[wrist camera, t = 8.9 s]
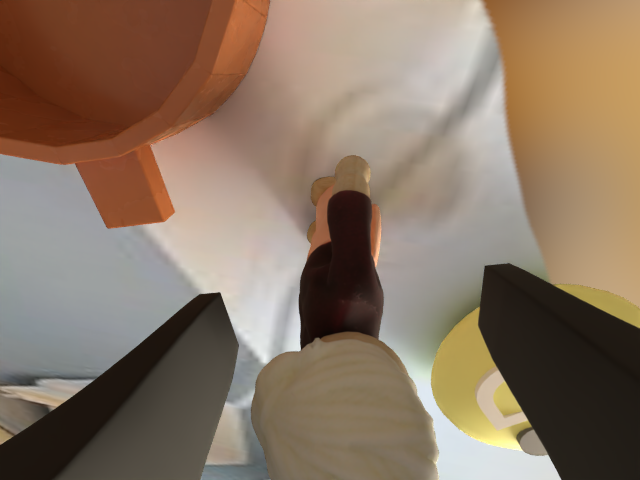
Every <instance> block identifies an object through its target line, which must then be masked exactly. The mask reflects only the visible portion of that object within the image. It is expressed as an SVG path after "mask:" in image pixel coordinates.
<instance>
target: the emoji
mask: <svg viewBox="0 0 640 480" xmlns="http://www.w3.org/2000/svg"><path fill="white" fill-rule="evenodd" d="M554 286H556V287H558V288H560V289H562V290H564V291H565V292H567V293H569V294H571V295H573V296H575V297H577V298H579V299H581V300H583V301H585V302H587V303H589V304H591V305H593V306H595V307H597V308H599V309H601V310H603V311H605V312H607V313H609V314H611V315H613V316H615V317H617V318H619V319H621V320H623V321H625V322H627V323H630V324H632V325H634V326H636V327H638V328H640V309H639V308H638V307H637V306H636V305H634V304H633V303H631V302H629V301H628V300H626V299H624V298H623V297H620V296H618V295H615V294H613V293H610V292H607V291H603V290H599V289H595V288H590V287H585V286H581V285H570V284H554ZM479 310H480V307H478V308H477V309H475V310H474V311H472V312H471V313H469V314H468V315H467V316H466V317H464V318H463V319H462V320H461V321H460V322H459V323H458V324H456V325H455V326H454V328H453V329H452V330H451V331H450V332H449V334H448V335H447V336H446V337H445V339H444V340H443V341H442V343H441V345H440V347H439V349H438V351H437V353H436V356H435V360H434V364H433V368H432V374H431V386H432V392H433V396H434V398H435V401H436V403H437V405H438V407H439V408H440V410H441V411H442V413H443V414H444V415H445V416H446V417H447V418H448V419H449V420H450V421H451V422H452V423H453V424H454V425H455V426H456V427H457V428H458V429H460V430H461V431H463V432H464V433H465V434H467V435H468V436H470V437H472V438H474V439H476V440H479V441H481V442H484V443H487V444H490V445H494V446H499V447H504V448H509V449H515V450H523V451H524V452H525V453H528V454H530V455H536V456H544V455H548V453H547V452H546V450H545V448H544V446H543V445H542V443H541V441H540V439H539V438H538V436H537V434H536V433H535V431H534V429H533V428H532V426H531V424H530V423H529V421H528V419H527V418H526V416H525V414H524V412H523V411H522V409H521V407H520V406H519V404H518V402H517V401H516V399H515V397H514V396H513V394H512V392H511V391H510V389H509V387H508V385H507V384H506V382H505V380H504V379H503V377H502V375H501V373H500V372H499V370H498V368H497V367H496V365H495V363H494V361H493V359H492V357H491V355H490V353H489V350H488V348H487V346H486V344H485V341H484V339H483V336H482V334H481V332H480V329H479V327H478V319H479Z"/></svg>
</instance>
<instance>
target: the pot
mask: <svg viewBox="0 0 640 480" xmlns="http://www.w3.org/2000/svg"><path fill="white" fill-rule="evenodd" d="M269 4H270V0H0V154H3V155H9V156H15V157H21V158H26V159H32V160H38V161H43V162H49V163H55V164H60V165H61V164H63V165H66V164H73V163H75V165H76V167H77V169H78V171H79V173H80V175H81V177H82V179H83V181H84V183H85V185H86V187H87V189H88V191H89V193H90V195H91V197H92V199H93V201H94V203H95V205H96V207H97V209H98V211H99V213H100V215H101V217H102V219H103V221H104V223H105V225H106V227H107V228H108V229H109V228H118V227H126V226H134V225H143V224H151V223H159V222H165V221H166V220H167V219H168V218H169V217H170V216H171V215H173V214H174V213H175V210H174V208H173V205H172V202H171V200H170V197H169V195H168V192H167V189H166V187H165V184H164V181H163V179H162V176H161V173H160V171H159V168H158V165H157V163H156V160H155V157H154V155H153V152H152V150H151V147H150V145H151V144H153V143H156V142H158V141H161V140H163V139H166V138H168V137H171V136H173V135H176V134H178V133H180V132H182V131H183V130H185V129H187V128H189V127H190V126H193V125H194V124H196V123H198V122H199V121H201V120H203V119H204V118H206V117H208V116H210V115H212V114H213V113H214V112H216V111H217V110H218V108H219V107H220V106H221V105H222V104H223V103H224V102H225V101H226V100H227V99H228V98H229V96H230V95H231V94H232V93H233V92H234V91H235V90H236V88H237V87H238V85H239V84H240V82H241V81H242V79H243V78H244V77H245V75H246V73H247V72H248V69H249V67H250V65H251V63H252V61H253V59H254V57H255V55H256V52H257V49H258V46H259V43H260V40H261V38H262V35H263V32H264V28H265V24H266V21H267V19H266V18H267V15H268V9H269Z"/></svg>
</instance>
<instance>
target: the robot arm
mask: <svg viewBox="0 0 640 480" xmlns="http://www.w3.org/2000/svg"><path fill="white" fill-rule="evenodd" d="M478 327H479V329H480V332H481V334H482V336H483V339H484V341H485V344H486V346H487V348H488V350H489V353H490V355H491V357H492V359H493V361H494V363H495V365H496V367H497V368H498V370H499V372H500V373H501V375H502V377H503V379H504V380H505V382H506V384H507V385H508V387H509V389H510V391H511V392H512V394H513V396H514V397H515V399H516V401H517V402H518V404H519V406H520V407H521V409H522V411H523V412H524V414H525V416H526V418H527V419H528V421H529V423H530V424H531V426H532V428H533V429H534V431H535V433H536V434H537V436H538V438H539V439H540V441H541V443H542V445H543V446H544V448H545V450H546V452H547V453H548V455H549V457H550V459H551V461H552V463H553V464H554V466H555V468H556V470H557V472H558V474H559V476H560V478H561V480H640V328H638V327H636V326H634V325H632V324H630V323H627V322H625V321H623V320H621V319H619V318H617V317H615V316H613V315H611V314H609V313H607V312H605V311H603V310H601V309H599V308H597V307H595V306H593V305H591V304H589V303H587V302H585V301H583V300H581V299H579V298H577V297H575V296H573V295H571V294H569V293H567V292H565V291H564V290H562V289H560V288H558V287H556V286H554V285H552V284H550V283H548V282H546V281H544V280H542V279H540V278H539V277H537V276H535V275H533V274H531V273H529V272H527V271H525V270H523V269H521V268H519V267H516V266H514V265H512V264H510V263H507V264H497V265H487V266H485V268H484V276H483V285H482V293H481V302H480V310H479V319H478ZM238 347H239V344H238V342H237V339H236V336H235V333H234V330H233V327H232V324H231V322H230V319H229V316H228V313H227V310H226V307H225V305H224V302H223V299H222V296H221V293H220V292H218V293H209V294H199V295H198V296H197V297H195V298H194V299H193V300H191V301H190V302H189V303H188V304H186V305H185V306H184V307H183V308H182V309H180V310H179V311H178V312H177V313H176V314H174V315H173V316H172V317H171V318H170V319H169V320H167V321H166V322H165V323H164V324H163V325H162V326H160V327H159V328H158V329H157V330H156V331H155V332H153V333H152V334H151V335H150V336H149V337H147V338H146V339H145V340H144V341H143V342H142V343H140V344H139V345H138V346H137V347H136V348H134V349H133V350H132V351H131V352H129V353H128V354H127V355H126V356H124V357H123V358H122V359H121V360H119V361H118V362H117V363H116V364H114V365H113V366H112V367H111V368H109V369H108V370H107V371H105V372H104V373H103V374H102V375H100V376H99V377H98V378H97V379H95V380H94V381H93V382H91V383H90V384H89V385H87V386H86V387H85V388H83V389H82V390H81V391H79V392H78V393H77V394H75V395H74V396H73V397H71V398H70V399H68V400H67V401H66V402H64V403H63V404H61V405H60V406H58V407H57V408H56V409H54V410H53V411H51V412H50V413H48V414H47V415H45V416H44V417H43V418H41V419H40V420H38V421H37V422H35V423H34V424H32V425H31V426H29V427H28V428H26V429H25V430H23V431H22V432H20V433H18V434H17V435H15V436H14V437H12V438H11V439H9V440H7V441H6V442H4V443H3V444H1V445H0V480H200V479H201V476H202V472H203V469H204V465H205V462H206V459H207V456H208V453H209V450H210V447H211V444H212V441H213V438H214V435H215V432H216V429H217V426H218V423H219V420H220V417H221V414H222V411H223V408H224V405H225V401H226V398H227V395H228V392H229V389H230V386H231V382H232V379H233V374H234V369H235V364H236V359H237V353H238Z"/></svg>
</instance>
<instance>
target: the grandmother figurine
mask: <svg viewBox="0 0 640 480" xmlns="http://www.w3.org/2000/svg"><path fill="white" fill-rule="evenodd" d="M370 173H371V172H370V167H369V165H368V163H367V162H366V161H365V160H364V159H363V158H361V157H359V156H356V155H351V156H347V157H344V158H343V159H342V160H341V161H340V162H339V163H338V164H337V166H336V169H335V177H324V178H320V179H318V180H316V181H315V182H314V183H313V185H312V188H311V200H312V203H313V204H314V206H316V221H314V222H313V223H312V224H311V225H310V227H309V229H308V232H307V238H308V241H309V242H310V243H311V247H310V250H309V253H308V257H307V262H306V264H305V267H304V269H303V272H302V275H301V280H300V294H299V314H300V320H301V333H300V345H301V351H299V352H298V351H293V352H285V353H283V354H280V355H278V356H276V357H275V358H274V359H272V360H271V361H270V362H269V363H268V364H267V365H266V366H265V367H264V368H263V369H262V370H261V372H260V373H259V375H258V377H257V380H256V386H255V394H254V397H253V401H252V407H251V420H252V425H253V428H254V430H255V433H256V435H257V438H258V440H259V442H260V444H261V446H262V448H263V450H264V455H265V459H266V463H267V471H268V474H269V477H270V479H271V480H439V475H438V471H437V467H436V462H437V460H438V457H439V450H438V447H437V444H436V436H435V431H434V428H433V419H432V417H431V416H430V415H429V414H428V412H427V411H426V410H425V408H424V406H423V404H422V402H421V400H420V399H419V397H418V395H417V389H416V385H415V384H414V382H413V380H412V379H411V378H410V377H409V375H408V373H407V370H406V368H405V366H404V365H403V363H402V362H401V360H400V358H399V357H398V356H397V355H396V353H395V352H394V351H393V350H392V349H391V348H390V347H388V346H387V345H386V344H385V343H383V342H382V341H380V340H378V338H379V330H380V324H381V317H382V313H383V304H384V296H383V289H382V287H381V284H380V280H379V277H378V274H377V272H376V265H377V261H378V255H379V247H380V240H381V216H380V209H379V207H378V206H377V205H376V204H372V203H371V200H370V189H369V185H368V182H369V179H370Z"/></svg>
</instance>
